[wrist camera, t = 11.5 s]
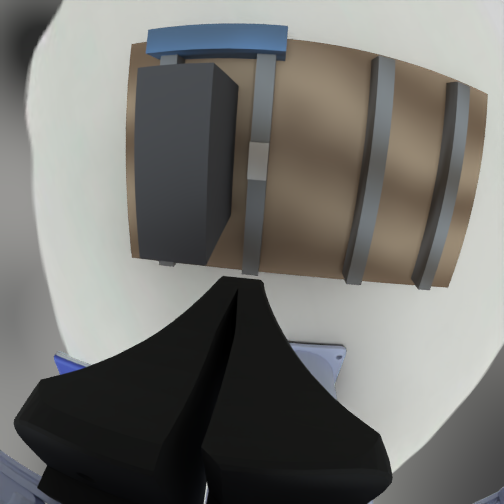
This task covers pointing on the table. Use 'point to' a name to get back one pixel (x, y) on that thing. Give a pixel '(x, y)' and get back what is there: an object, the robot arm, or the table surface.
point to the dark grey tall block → (183, 159)
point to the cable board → (332, 156)
